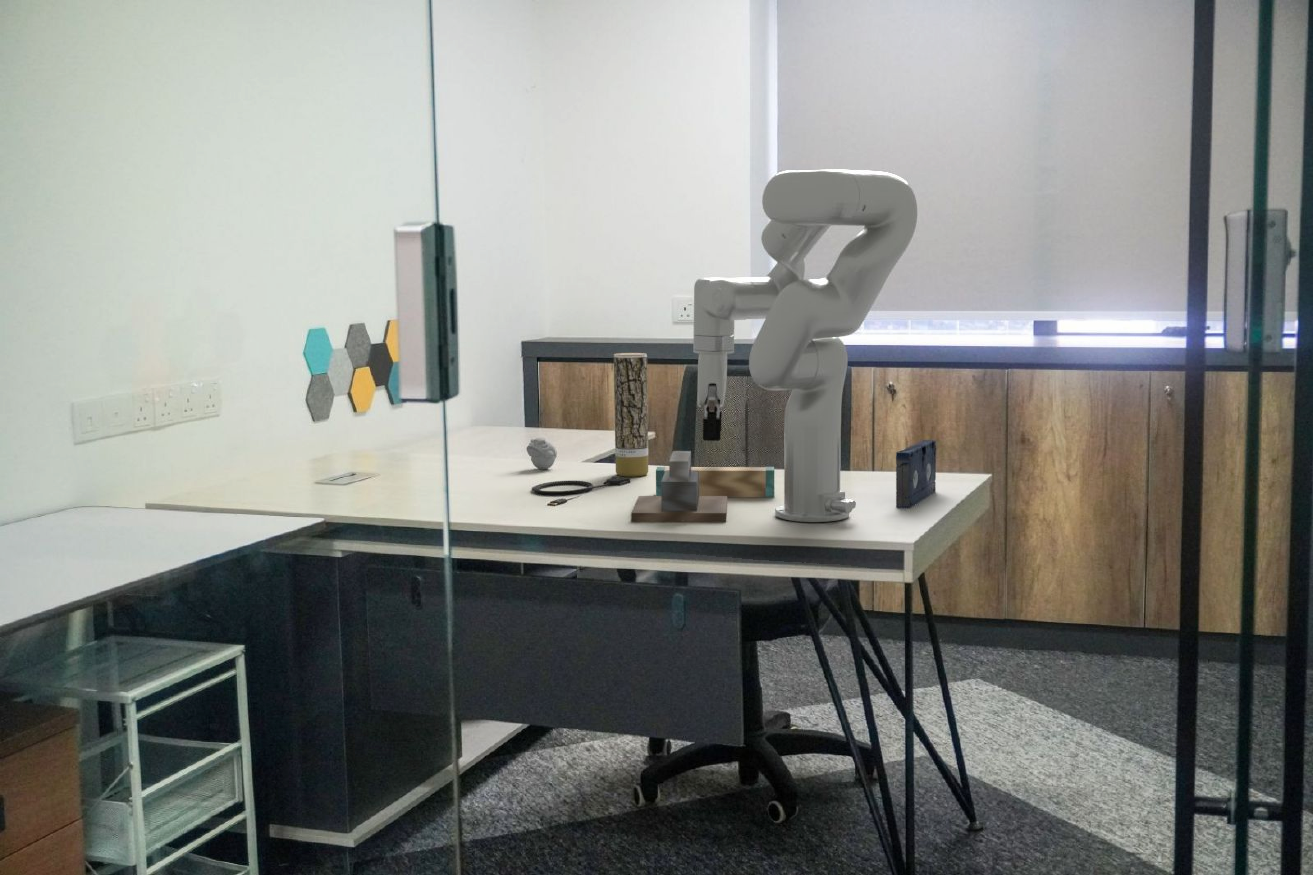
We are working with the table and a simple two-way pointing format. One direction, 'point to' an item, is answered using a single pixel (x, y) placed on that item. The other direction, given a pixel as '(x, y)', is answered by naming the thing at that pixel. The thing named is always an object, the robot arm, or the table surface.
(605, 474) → the table surface
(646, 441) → the bark log
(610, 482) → the cable
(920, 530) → the table surface
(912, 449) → the vhs cassette tape
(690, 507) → the fulcrum stand
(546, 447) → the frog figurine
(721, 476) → the oak beam
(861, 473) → the table surface
